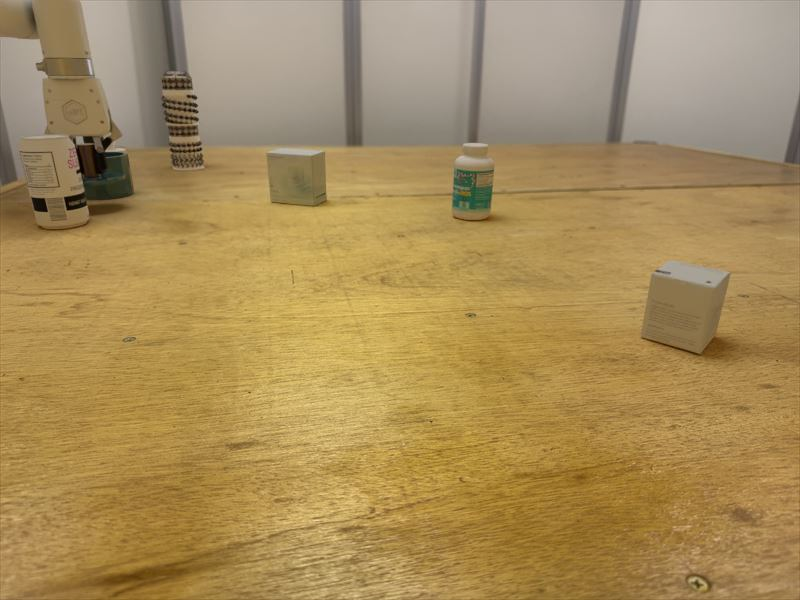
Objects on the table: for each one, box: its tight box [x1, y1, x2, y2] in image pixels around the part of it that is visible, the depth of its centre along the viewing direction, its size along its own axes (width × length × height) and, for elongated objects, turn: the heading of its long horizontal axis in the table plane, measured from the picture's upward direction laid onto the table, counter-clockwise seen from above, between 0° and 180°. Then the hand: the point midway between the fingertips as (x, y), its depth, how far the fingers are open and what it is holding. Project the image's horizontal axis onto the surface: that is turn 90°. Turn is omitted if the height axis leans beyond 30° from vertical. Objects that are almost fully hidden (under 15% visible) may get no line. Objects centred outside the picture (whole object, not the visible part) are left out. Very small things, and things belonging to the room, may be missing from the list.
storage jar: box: [83, 152, 135, 201], centre depth 119 cm, size 10×10×8 cm
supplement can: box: [17, 133, 91, 230], centre depth 94 cm, size 8×8×15 cm
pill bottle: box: [451, 142, 495, 221], centre depth 103 cm, size 8×7×14 cm
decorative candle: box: [160, 70, 205, 172], centre depth 149 cm, size 9×9×25 cm
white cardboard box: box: [640, 259, 731, 355], centre depth 57 cm, size 6×6×7 cm
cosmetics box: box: [265, 147, 328, 207], centre depth 114 cm, size 10×6×10 cm, turn 71°
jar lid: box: [77, 142, 125, 186], centre depth 105 cm, size 11×11×7 cm
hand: (91, 172), depth 106 cm, fingers closed on jar lid, 3 cm apart
